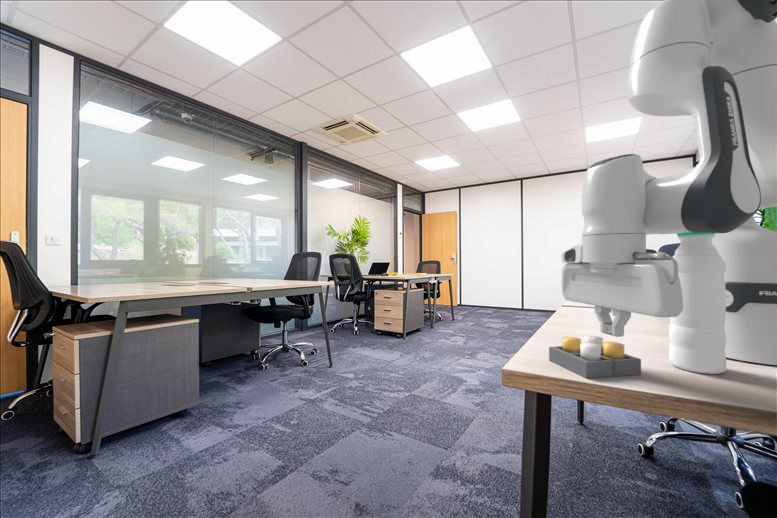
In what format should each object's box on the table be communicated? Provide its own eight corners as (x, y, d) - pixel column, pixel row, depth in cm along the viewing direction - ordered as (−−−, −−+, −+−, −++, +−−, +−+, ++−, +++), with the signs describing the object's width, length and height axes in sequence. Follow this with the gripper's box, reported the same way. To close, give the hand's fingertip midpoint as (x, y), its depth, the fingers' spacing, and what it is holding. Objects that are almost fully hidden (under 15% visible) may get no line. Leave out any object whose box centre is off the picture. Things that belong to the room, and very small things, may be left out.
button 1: (572, 350, 59) (572, 336, 59) (584, 355, 56) (584, 340, 56) (558, 351, 58) (558, 336, 58) (570, 356, 55) (569, 340, 55)
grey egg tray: (596, 357, 60) (596, 344, 60) (641, 374, 51) (640, 359, 51) (549, 360, 59) (549, 346, 59) (586, 378, 50) (586, 362, 50)
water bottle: (700, 361, 57) (699, 224, 57) (739, 376, 50) (738, 219, 50) (658, 360, 58) (657, 225, 58) (691, 374, 51) (690, 220, 51)
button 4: (614, 356, 55) (613, 341, 55) (628, 362, 52) (628, 345, 52) (599, 357, 55) (599, 342, 55) (613, 363, 52) (613, 346, 52)
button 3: (594, 349, 59) (593, 335, 59) (606, 354, 56) (606, 339, 56) (580, 350, 59) (580, 335, 59) (592, 354, 56) (592, 339, 56)
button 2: (591, 358, 54) (591, 342, 54) (605, 363, 51) (605, 347, 51) (576, 359, 54) (576, 343, 54) (589, 364, 51) (589, 348, 51)
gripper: (696, 251, 43) (696, 352, 43) (583, 253, 64) (583, 322, 64) (656, 251, 42) (656, 353, 42) (555, 253, 63) (555, 323, 63)
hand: (612, 334), depth 53 cm, fingers closed
